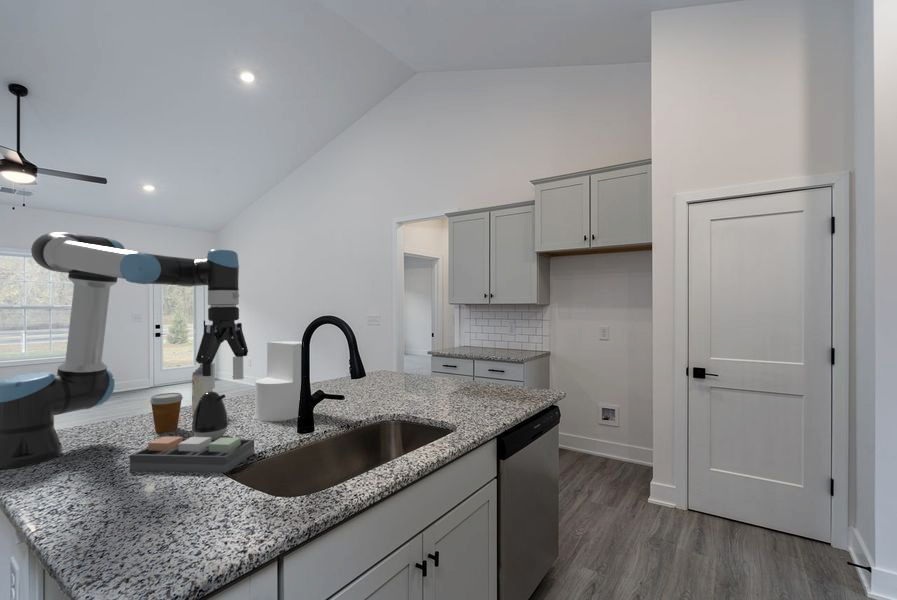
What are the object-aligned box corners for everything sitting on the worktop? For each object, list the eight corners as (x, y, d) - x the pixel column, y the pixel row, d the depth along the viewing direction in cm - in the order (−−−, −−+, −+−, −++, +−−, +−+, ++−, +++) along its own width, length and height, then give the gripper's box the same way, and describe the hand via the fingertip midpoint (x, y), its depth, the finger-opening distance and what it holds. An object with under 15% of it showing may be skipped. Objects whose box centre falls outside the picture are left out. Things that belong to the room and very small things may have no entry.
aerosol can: (196, 413, 167) (196, 363, 167) (215, 412, 168) (215, 362, 168) (189, 418, 160) (189, 365, 160) (208, 417, 161) (208, 365, 161)
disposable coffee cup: (143, 432, 142) (143, 397, 142) (170, 425, 151) (170, 391, 151) (161, 435, 139) (162, 399, 139) (189, 427, 148) (189, 393, 148)
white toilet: (286, 407, 176) (286, 340, 176) (312, 413, 166) (312, 342, 166) (246, 416, 162) (246, 343, 162) (271, 424, 152) (271, 346, 152)
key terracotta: (148, 450, 114) (148, 443, 114) (163, 443, 120) (163, 436, 120) (168, 450, 114) (168, 443, 114) (182, 443, 119) (182, 436, 119)
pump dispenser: (212, 445, 130) (212, 395, 130) (183, 443, 132) (184, 394, 132) (235, 434, 139) (235, 388, 140) (208, 433, 142) (208, 387, 142)
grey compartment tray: (129, 470, 110) (129, 455, 110) (168, 451, 124) (168, 437, 124) (225, 472, 108) (225, 457, 108) (254, 453, 122) (254, 439, 122)
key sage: (208, 451, 113) (208, 444, 113) (221, 444, 119) (221, 437, 119) (228, 452, 113) (228, 444, 113) (240, 444, 118) (240, 437, 118)
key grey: (178, 451, 113) (178, 443, 113) (192, 444, 119) (192, 436, 119) (198, 451, 113) (198, 443, 113) (211, 444, 119) (211, 437, 119)
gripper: (208, 306, 103) (209, 393, 103) (259, 305, 128) (260, 375, 128) (179, 306, 104) (179, 393, 104) (236, 306, 129) (236, 375, 129)
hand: (224, 383), depth 116 cm, fingers open, 13 cm apart
